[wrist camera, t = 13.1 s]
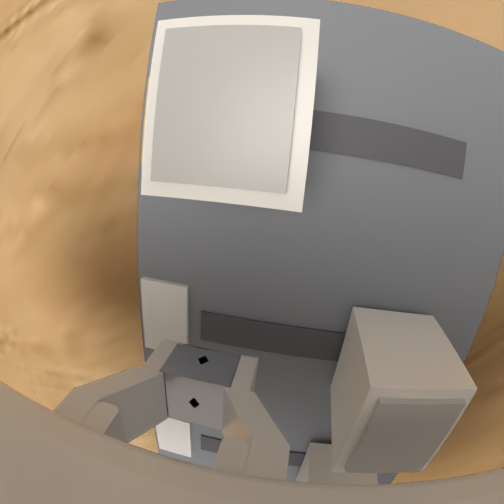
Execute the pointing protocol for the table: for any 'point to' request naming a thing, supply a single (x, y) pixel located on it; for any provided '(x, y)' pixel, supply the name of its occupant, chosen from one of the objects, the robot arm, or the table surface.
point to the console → (337, 218)
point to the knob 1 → (231, 109)
